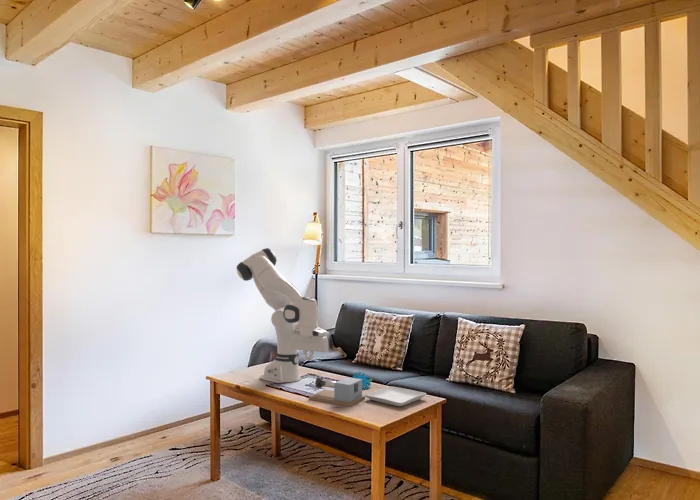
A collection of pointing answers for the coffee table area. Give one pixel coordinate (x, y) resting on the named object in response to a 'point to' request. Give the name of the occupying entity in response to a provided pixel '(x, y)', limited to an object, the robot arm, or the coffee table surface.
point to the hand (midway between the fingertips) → (308, 359)
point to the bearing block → (342, 393)
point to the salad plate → (395, 396)
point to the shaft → (324, 383)
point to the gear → (363, 380)
